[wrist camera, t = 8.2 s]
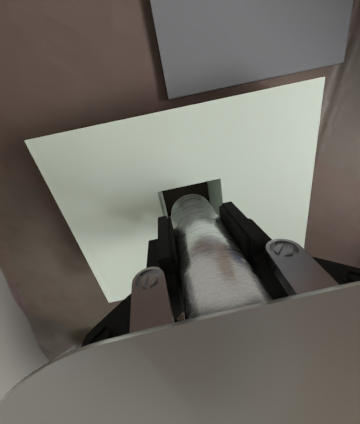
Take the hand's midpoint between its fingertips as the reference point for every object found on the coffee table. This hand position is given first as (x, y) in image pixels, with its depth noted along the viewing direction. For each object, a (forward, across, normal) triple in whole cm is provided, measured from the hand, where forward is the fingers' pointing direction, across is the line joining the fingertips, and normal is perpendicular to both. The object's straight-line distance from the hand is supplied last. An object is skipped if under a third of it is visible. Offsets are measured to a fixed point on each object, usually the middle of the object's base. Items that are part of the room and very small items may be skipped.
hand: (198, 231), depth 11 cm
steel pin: (+3, 0, 0) cm, 3 cm away
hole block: (+8, 0, 0) cm, 8 cm away
